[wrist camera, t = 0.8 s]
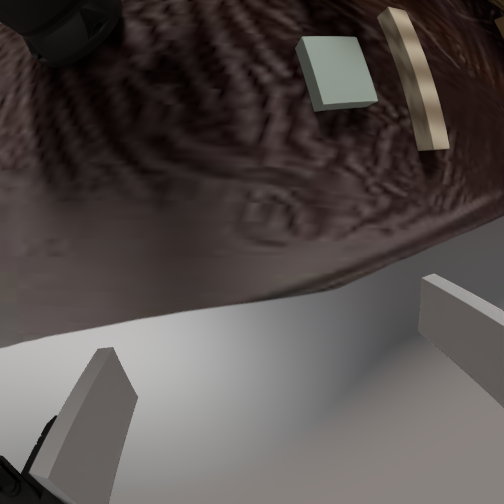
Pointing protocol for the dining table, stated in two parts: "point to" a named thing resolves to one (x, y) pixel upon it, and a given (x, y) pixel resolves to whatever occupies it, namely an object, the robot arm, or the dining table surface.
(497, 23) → the sandwich container
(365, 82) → the block
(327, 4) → the dining table surface
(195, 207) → the dining table surface
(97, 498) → the robot arm
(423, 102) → the curved wooden bar
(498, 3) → the basket
